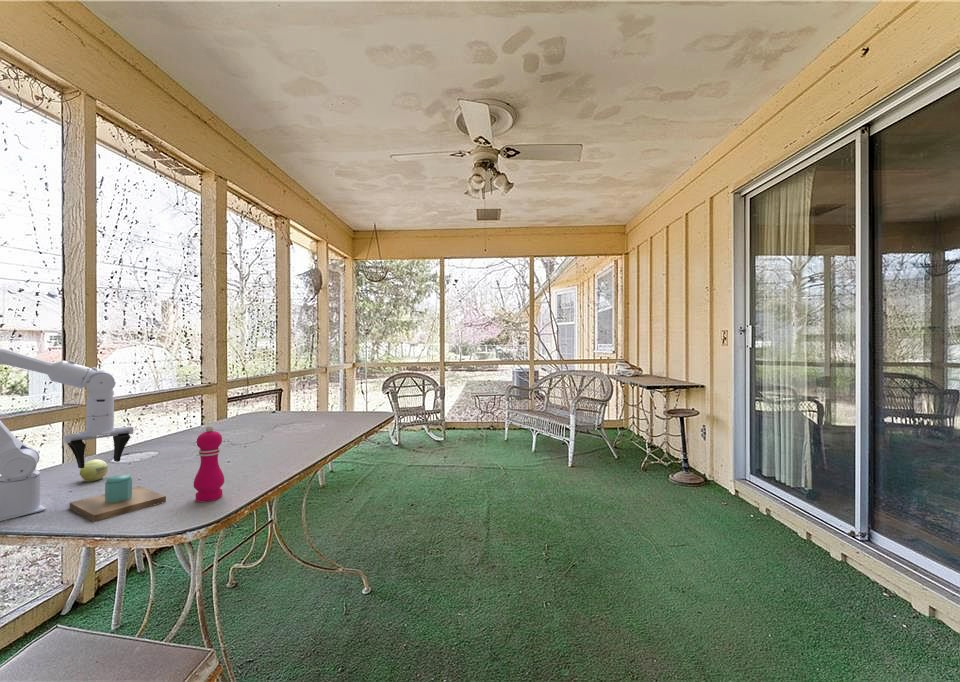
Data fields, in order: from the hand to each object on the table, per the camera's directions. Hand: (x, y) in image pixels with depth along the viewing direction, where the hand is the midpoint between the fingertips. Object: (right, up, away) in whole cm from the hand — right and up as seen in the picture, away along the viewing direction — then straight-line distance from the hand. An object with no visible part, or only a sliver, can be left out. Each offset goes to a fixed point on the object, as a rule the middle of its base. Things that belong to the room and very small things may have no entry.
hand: (99, 464), depth 117 cm
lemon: (-16, -10, +16) cm, 25 cm away
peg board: (+10, -9, -5) cm, 14 cm away
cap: (+10, -8, -5) cm, 13 cm away
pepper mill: (+30, -10, 0) cm, 32 cm away
